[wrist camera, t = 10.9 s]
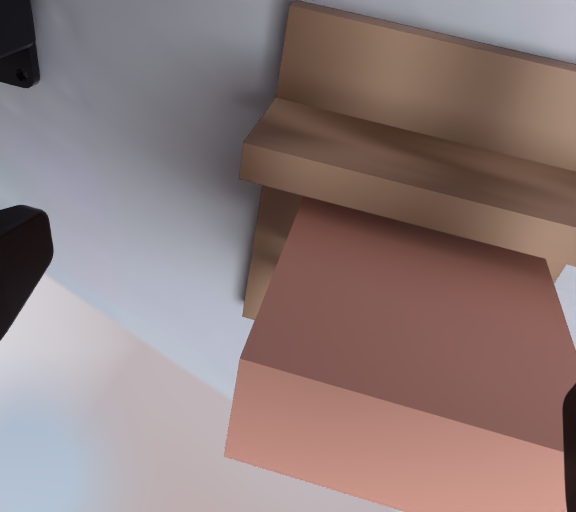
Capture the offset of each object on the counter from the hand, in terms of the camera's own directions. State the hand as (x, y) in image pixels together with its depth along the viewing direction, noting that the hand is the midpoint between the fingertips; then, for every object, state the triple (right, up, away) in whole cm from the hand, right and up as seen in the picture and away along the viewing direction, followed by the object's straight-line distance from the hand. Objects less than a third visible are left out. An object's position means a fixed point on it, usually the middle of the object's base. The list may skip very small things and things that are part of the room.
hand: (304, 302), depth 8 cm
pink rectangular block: (+4, +2, +12) cm, 12 cm away
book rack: (+5, +2, +12) cm, 13 cm away
